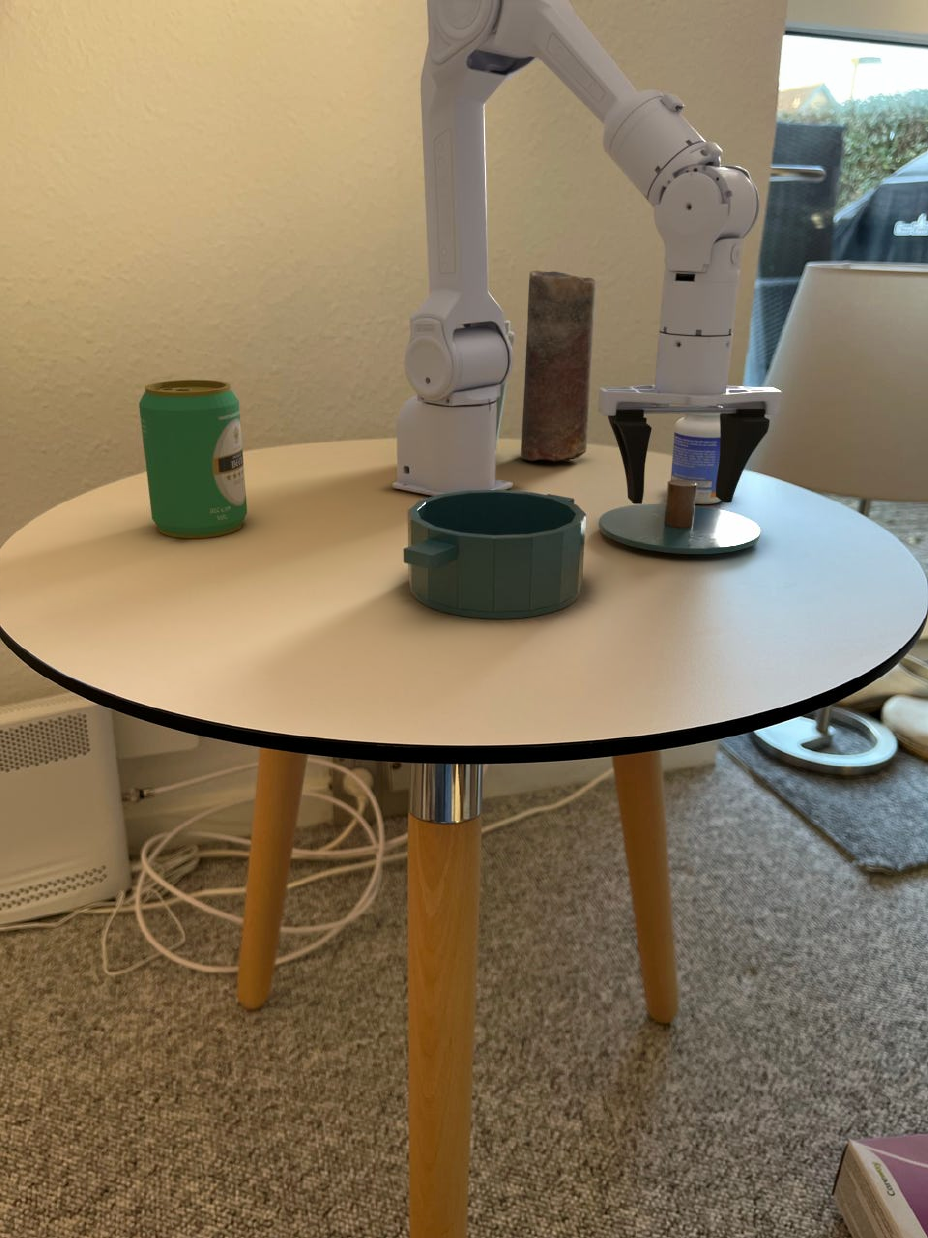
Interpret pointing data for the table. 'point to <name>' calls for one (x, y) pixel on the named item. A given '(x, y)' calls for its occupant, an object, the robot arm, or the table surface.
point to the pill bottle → (698, 453)
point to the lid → (679, 525)
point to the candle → (557, 366)
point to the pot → (495, 553)
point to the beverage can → (193, 457)
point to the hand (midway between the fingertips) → (679, 500)
